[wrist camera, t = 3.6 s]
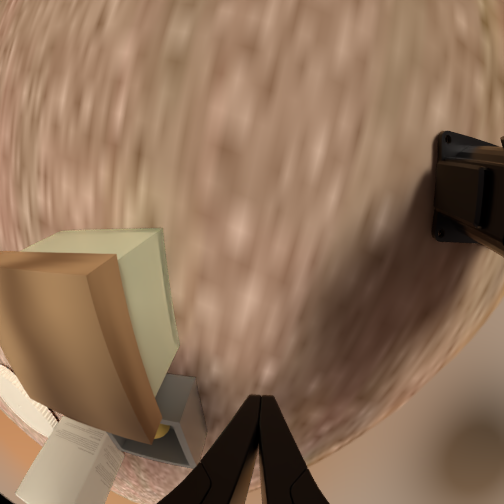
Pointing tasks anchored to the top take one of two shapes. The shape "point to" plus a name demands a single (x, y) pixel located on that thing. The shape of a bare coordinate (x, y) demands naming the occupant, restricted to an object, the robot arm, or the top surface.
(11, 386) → the plastic lid
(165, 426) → the ball
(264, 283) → the top surface
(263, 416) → the robot arm
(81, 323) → the lid
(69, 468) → the skincare box
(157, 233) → the pale green hollow box
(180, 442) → the grey open box
